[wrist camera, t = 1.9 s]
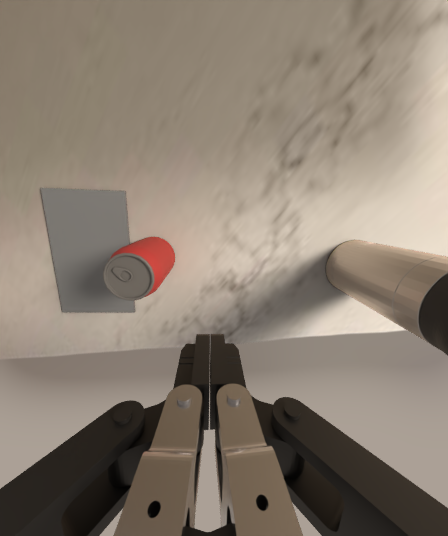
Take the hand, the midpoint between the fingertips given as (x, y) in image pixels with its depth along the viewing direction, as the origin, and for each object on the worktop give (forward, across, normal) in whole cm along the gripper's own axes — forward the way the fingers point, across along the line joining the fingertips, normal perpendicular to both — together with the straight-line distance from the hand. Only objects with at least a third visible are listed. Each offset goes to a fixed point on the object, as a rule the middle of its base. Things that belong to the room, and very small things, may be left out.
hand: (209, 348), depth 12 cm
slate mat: (+25, +19, 0) cm, 31 cm away
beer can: (+25, +9, 0) cm, 26 cm away
